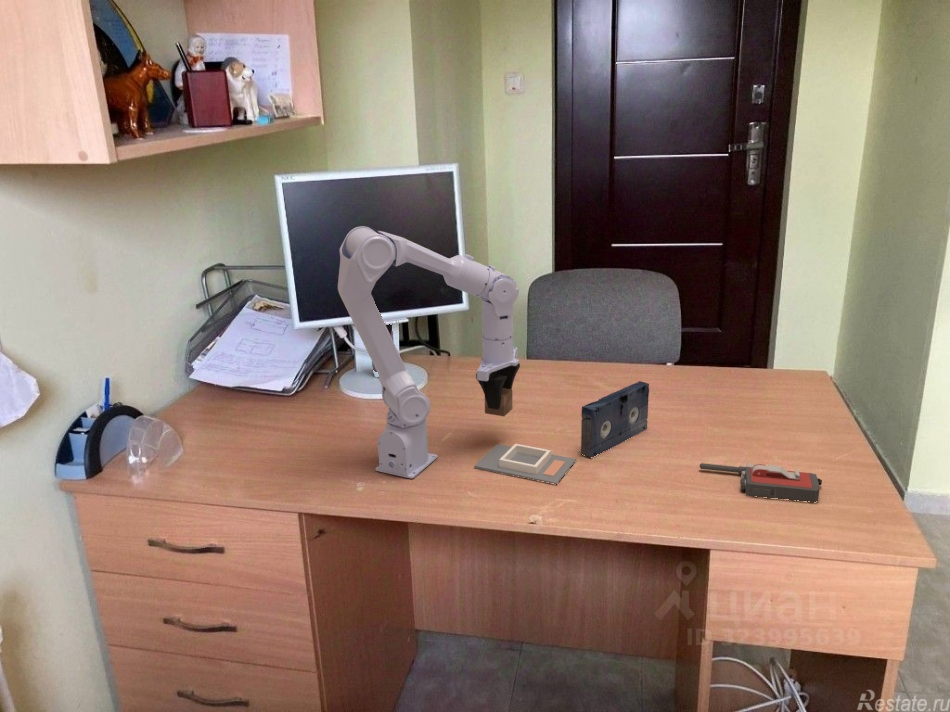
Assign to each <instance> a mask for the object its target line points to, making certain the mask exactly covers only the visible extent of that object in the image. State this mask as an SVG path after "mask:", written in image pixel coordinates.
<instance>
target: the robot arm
mask: <svg viewBox="0 0 950 712" xmlns="http://www.w3.org/2000/svg"><path fill="white" fill-rule="evenodd" d="M339 256H340V257H339V258H340V260H339V269H338V281H337V292H338V294H339V297H340V298H341V301H342V302H343V304H344V306H345V308H346V310H347V312H348V315H349V317H350V319H351V320H352V323H353V325H354V327H355V330H356V332H357V334H358V336H359V337H360V339H361V341H362V344H363V345H364V348H365V349H366V351H367V354H368V355H369V356H368V357H369V358H370V360H371V363H372V362H373V364H374V366H375V368H376V370H377V372H378V374H379V378H378V380H379V383H380V385H381V397H382V401H383V403H384V404H385V405H386V406H387V408H388V411H387V414H386V424H385V427H384V429H383V431H382V432H381V433H380V434H379V436H378V439H377V450H378V451H377V452H378V453H377V454H378V462H379V465H377V466H376V467H375V471H376V472H381V473H385V474H389V475H393V476H398V477H403V478H406V479H414V478H415V477H417V476H418V475H419V474H420V473H421V472H422V471H424V470H425V469H427V467H428V466H429V465H431V464H432V463H433V462H434V461H435V460H436V459H437V458H439V457H438V455H437V454H435V453H431V452H429V445H428V444H429V443H428V423H427V422H428V421H427V419H428V416H429V414H430V411H431V402H430V400H429V398H428V396H427V395H426V394H425V393H423V392H421V391H420V390H419V388H418V386H417V384H416V382H415V381H414V379H413V378H412V377H411V376H412V375H410V374H409V373H410V372H408V370H407V368H406V366H405V364H404V361H403V359H402V357H401V355H400V353H399V351H398V349H397V347H396V344H395V343H394V342H393V341H394V339H393V340H392V338H391V336H390V334H389V331H388V329H387V327H386V325H385V323H384V321H383V319H382V316H381V314H380V312H379V310H378V308H377V306H376V304H375V301H374V299H375V298H374V297H373V295H372V291H373V288H375V285H376V282H378V280H379V279H380V278H381V277H382V276H383V275H384V274H385V273H386V271H387V270H388V269H389V268H390V267H391V266H392V265H393V266H394V267H398V266H401V265H403V264H405V263H410V264H412V265H415V266H417V267H419V268H423V269H426V270H428V271H431V272H434V273H436V274H439V275H442V276H443V279H444V281H445V284H446V285H447V286H449V287H451V288H453V289H457V290H459V291H461V292H463V293H467V294H469V295H472V296H474V297H476V298H480V299H481V327H482V328H481V331H482V332H481V333H482V336H481V337H482V338H481V339H482V340H481V341H482V357H481V361H480V363H479V367H478V369H476V373H475V379H476V381H477V382H478V383H479V386H480V387H481V389H482V391H483V395H484V399H485V398H486V402H487V405H488V408H491V409H499V408H500V404H501V395H502V389H503V388H506V389H512V390H513V386H514V385H513V384H514V381H515V378H516V375H517V373H518V371H519V369H520V368H521V365H520V359H518V356H519V348H518V347H516V346H514V309H513V308H514V304H515V302H516V300H517V299H518V297H519V293H520V289H519V288H518V287H517V284H516V281H514V280H515V279H514V278H513V277H511V276H509V275H507V274H505V273H503V272H501V271H499V270H497V268H496V267H495V266H494V265H491V264H488V266H487V265H485V264H483V263H480V262H478V261H475V257H474V256H472V255H470V254H467V253H465V254H464V255H461V254H457V255H455V256H453V257H450V258H448V257H446V256H444V255H442V254H439V253H438V252H435V251H433V250H431V249H429V248H426V247H424V246H422V245H420V244H418V243H415V242H413V241H411V240H409V239H407V238H405V237H403V236H399V235H395V234H392V233H389V232H386V231H381V230H377V231H375V230H374V229H372V228H371V227H368V226H365V225H364V226H363V225H362V226H357V227H354V228H352V229H351V230H349V232H348V233H347V234H346V236H345V237H344V240H343V241H342V243H341V246H340V247H339Z"/></svg>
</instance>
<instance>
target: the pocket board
mask: <svg viewBox="0 0 950 712" xmlns="http://www.w3.org/2000/svg"><path fill="white" fill-rule="evenodd" d="M575 461H576V462H577V458H573V457H567V456H563V455H558V454H552V450H551V449H546V448H540V447H534V446H531V445H530V446H529V445H524V444H519V443H514V444H513V445H512V446H510V445H507V444H506V445H505V444H499V443H497V444H496V445H495V446H493V447H492V448H491V449H490V450H489V451H488V452H487V453H486V454H485V455H484V456H483V457H481V459H480V460H478V462H477V463H475V464H474V465H473V468H474V469H476V468H477V469H476V470H480V469H483V470H482V471H485V470H487V471H486V472H490V471H492V472H491V473H495V472H497V473H496V474H499V473H503V474H502V475H504V474H508V475H507V476H509V475H514V476H519V477H525V478H529V479H534V480H539V481H544V482H549V483H554V484H557V483H558V482H559V481H560V480H561V478H562V477H563V476H564V475H565V473H566V472H567V471H568V470H569V469H570V467H571V466H572V465H573V464H574V463H575V464H576V462H575ZM575 464H574V465H575ZM574 465H573V466H574ZM573 466H572V467H573ZM572 467H571V468H572ZM570 470H571V469H570ZM570 470H569V471H570ZM569 471H568V472H569ZM568 472H567V473H568ZM514 476H513V477H514ZM565 476H566V475H565ZM565 476H564V477H565ZM564 477H563V478H564ZM561 481H562V480H561ZM561 481H560V482H561ZM560 482H559V483H560ZM559 483H558V484H559Z"/></svg>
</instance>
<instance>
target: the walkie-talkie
mask: <svg viewBox="0 0 950 712" xmlns="http://www.w3.org/2000/svg"><path fill="white" fill-rule="evenodd" d="M699 468H700V469H701V470H709V471H716V472H717V471H719V472H726V473H727V472H729V473H736V474H737V473H738V474H740V475H741V476H740V490H741V491H744V493H746V495H748V496H757V497H767V498H778V499H789V500H796V501H797V500H799V501H807V502H808V501H810V502H816V501H818V502H819V495H820V491H821V490H820V487H821V486H822V483H823V480H822V479H821V478H819V477H818V475H817V474H816V473H811V472H804V471H803V472H802V471H800V470H799V469H794V471H792V470H786V469H784V468H783V467H782V466H780V465H770V464H768V465H767V464H761V463H757V464H753V463H748V462H747V463H746V466H740V465H739V466H732V465H723V464H722V465H721V464H713V463H704V462H702V463H700V464H699ZM746 495H745V496H746ZM748 496H747V497H748ZM757 497H756V498H757ZM778 499H777V500H778Z"/></svg>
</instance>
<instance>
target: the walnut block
mask: <svg viewBox="0 0 950 712" xmlns="http://www.w3.org/2000/svg"><path fill="white" fill-rule="evenodd" d="M513 403H514V402H513V388H512V389H506V388H503V389H502V395H501V404H500V408H499V409H491V408H488V405H487V402H486V398H485V397H484V413H485V414H487V415H493V416H498V417H506V415H508V414H510V413H509V412H511V411H512V410H513V408H514V406H513Z"/></svg>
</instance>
